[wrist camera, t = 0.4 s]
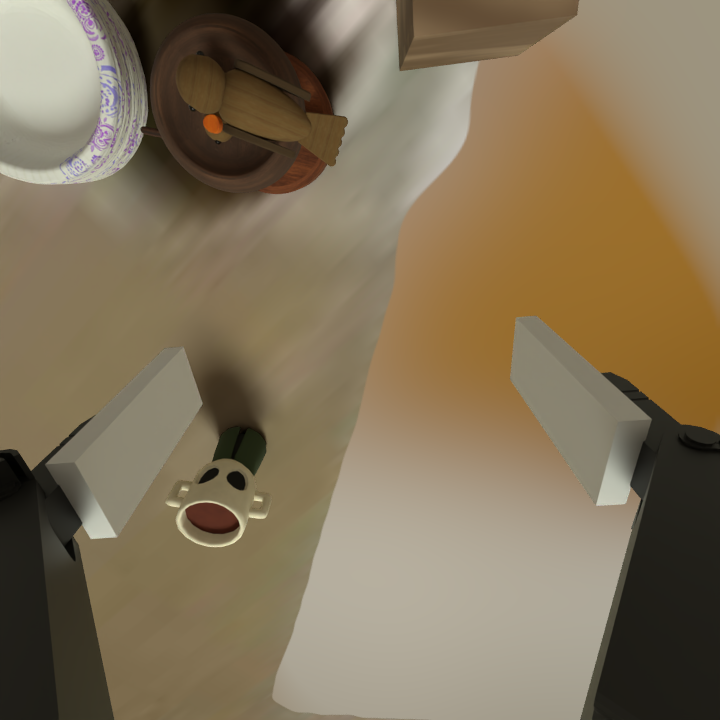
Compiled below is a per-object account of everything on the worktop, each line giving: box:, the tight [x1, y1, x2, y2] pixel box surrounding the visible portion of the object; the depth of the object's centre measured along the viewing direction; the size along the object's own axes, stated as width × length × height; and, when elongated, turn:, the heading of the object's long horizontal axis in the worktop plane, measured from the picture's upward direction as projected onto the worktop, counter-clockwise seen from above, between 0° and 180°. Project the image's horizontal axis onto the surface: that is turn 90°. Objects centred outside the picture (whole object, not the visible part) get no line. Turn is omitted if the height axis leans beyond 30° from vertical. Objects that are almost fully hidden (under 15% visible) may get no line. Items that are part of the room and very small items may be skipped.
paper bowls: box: [0, 0, 148, 184], centre depth 30 cm, size 15×15×8 cm
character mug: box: [166, 427, 272, 547], centre depth 46 cm, size 11×7×13 cm, turn 79°
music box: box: [140, 13, 348, 194], centre depth 27 cm, size 15×11×20 cm
